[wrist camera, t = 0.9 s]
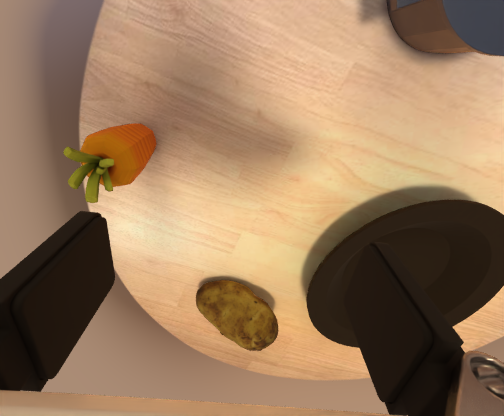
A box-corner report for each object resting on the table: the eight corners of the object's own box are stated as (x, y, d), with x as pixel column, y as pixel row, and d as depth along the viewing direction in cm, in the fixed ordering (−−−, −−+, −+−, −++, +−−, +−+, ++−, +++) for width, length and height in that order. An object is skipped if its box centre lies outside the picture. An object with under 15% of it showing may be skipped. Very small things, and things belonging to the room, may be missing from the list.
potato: (227, 258, 41) (222, 298, 34) (283, 301, 45) (289, 345, 38) (192, 286, 43) (181, 329, 36) (248, 324, 48) (248, 369, 41)
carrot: (128, 106, 30) (34, 140, 17) (172, 117, 31) (114, 157, 18) (127, 148, 33) (44, 206, 19) (168, 157, 33) (114, 220, 20)
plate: (352, 338, 50) (364, 368, 45) (267, 265, 41) (269, 292, 36) (509, 256, 41) (545, 282, 36) (441, 141, 32) (475, 155, 27)
